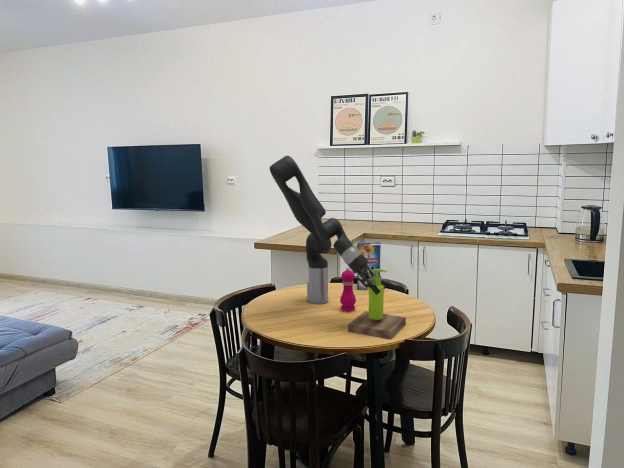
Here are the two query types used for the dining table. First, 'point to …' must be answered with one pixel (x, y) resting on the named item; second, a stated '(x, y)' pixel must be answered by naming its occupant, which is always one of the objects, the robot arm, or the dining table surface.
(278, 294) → the dining table surface
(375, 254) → the juice carton
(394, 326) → the walnut board
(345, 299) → the pepper mill
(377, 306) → the soap dispenser
